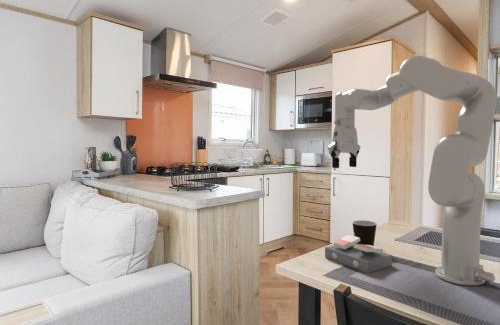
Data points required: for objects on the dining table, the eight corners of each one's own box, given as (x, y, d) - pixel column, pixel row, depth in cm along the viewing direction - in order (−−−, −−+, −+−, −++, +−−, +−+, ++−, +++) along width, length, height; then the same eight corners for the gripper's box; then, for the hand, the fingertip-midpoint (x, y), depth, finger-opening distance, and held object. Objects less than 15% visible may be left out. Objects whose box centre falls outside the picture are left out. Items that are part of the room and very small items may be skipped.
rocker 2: (382, 252, 111) (383, 248, 111) (366, 251, 107) (367, 247, 107) (369, 248, 115) (370, 244, 115) (354, 247, 111) (354, 243, 111)
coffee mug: (372, 254, 122) (372, 226, 122) (348, 250, 127) (349, 223, 127) (381, 246, 131) (382, 220, 131) (359, 242, 137) (359, 218, 136)
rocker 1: (360, 241, 119) (359, 237, 118) (344, 249, 115) (344, 245, 114) (349, 237, 123) (348, 234, 123) (333, 245, 119) (333, 242, 118)
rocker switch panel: (391, 265, 111) (391, 252, 111) (367, 273, 104) (367, 259, 104) (348, 251, 126) (348, 239, 126) (324, 257, 119) (324, 244, 119)
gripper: (336, 123, 127) (335, 168, 128) (367, 124, 136) (366, 166, 137) (321, 124, 133) (321, 167, 134) (352, 125, 142) (352, 166, 143)
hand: (344, 167), depth 135 cm, fingers open, 9 cm apart
